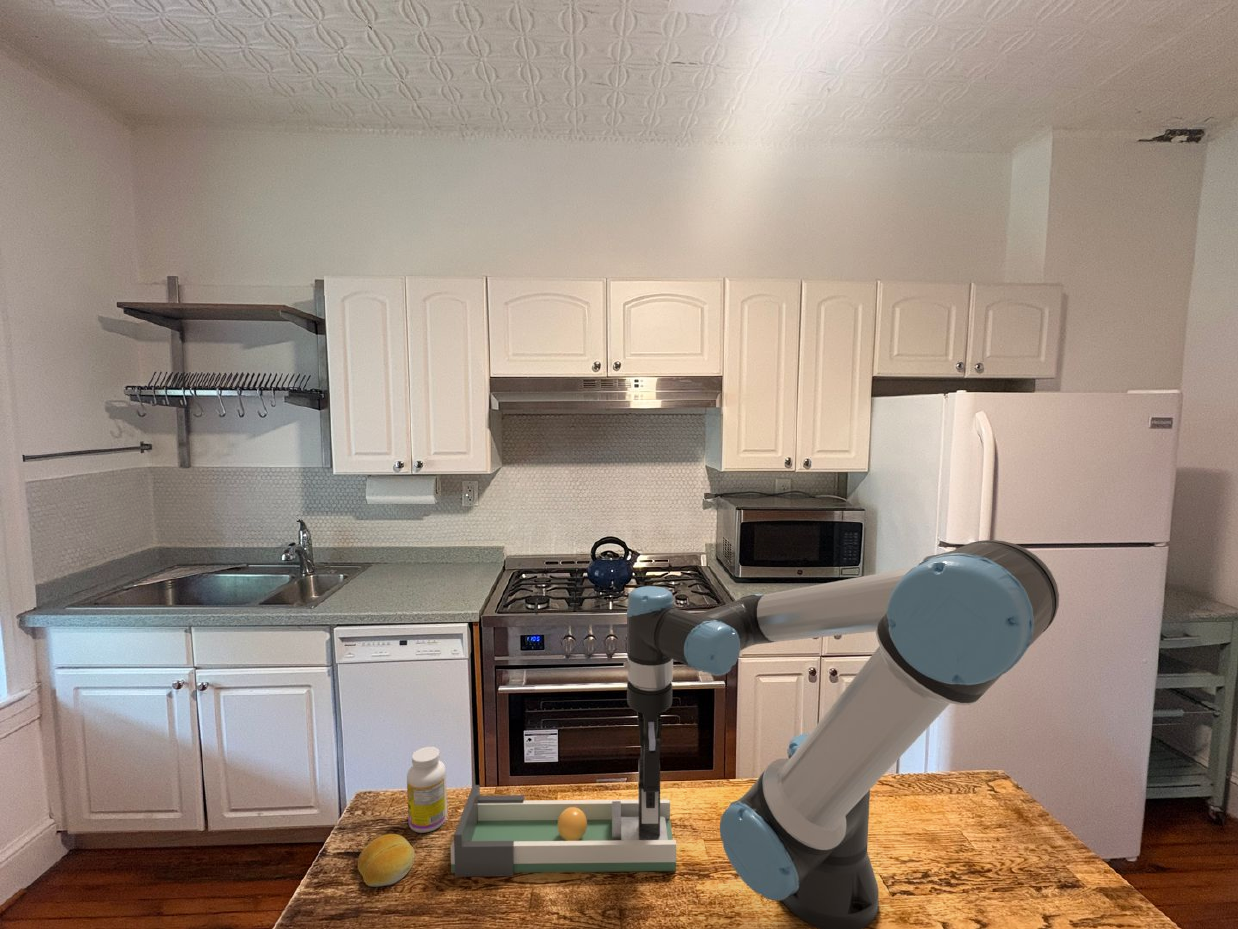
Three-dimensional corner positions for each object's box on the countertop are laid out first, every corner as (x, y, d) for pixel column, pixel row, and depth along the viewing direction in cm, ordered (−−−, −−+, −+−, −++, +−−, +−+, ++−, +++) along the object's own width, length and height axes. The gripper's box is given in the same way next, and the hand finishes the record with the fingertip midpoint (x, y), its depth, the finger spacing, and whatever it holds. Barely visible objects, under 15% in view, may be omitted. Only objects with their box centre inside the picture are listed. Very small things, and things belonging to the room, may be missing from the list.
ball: (592, 832, 100) (591, 805, 99) (579, 852, 95) (578, 824, 95) (566, 824, 102) (565, 797, 101) (552, 844, 97) (551, 816, 96)
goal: (524, 821, 104) (524, 784, 104) (513, 876, 92) (512, 834, 92) (473, 822, 104) (472, 785, 104) (455, 876, 92) (454, 835, 91)
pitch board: (669, 823, 104) (669, 799, 104) (676, 871, 93) (676, 844, 93) (468, 825, 104) (467, 801, 103) (451, 873, 93) (450, 846, 92)
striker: (664, 820, 102) (664, 749, 101) (668, 854, 94) (669, 778, 93) (612, 820, 102) (612, 750, 101) (612, 854, 94) (612, 778, 93)
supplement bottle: (415, 809, 108) (413, 743, 107) (451, 808, 108) (449, 742, 107) (403, 835, 101) (400, 765, 100) (441, 834, 101) (439, 764, 100)
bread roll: (370, 899, 88) (369, 874, 88) (352, 864, 95) (351, 841, 94) (424, 871, 93) (423, 847, 93) (403, 840, 100) (402, 818, 100)
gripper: (625, 661, 104) (625, 786, 106) (628, 704, 88) (628, 850, 90) (667, 661, 104) (666, 786, 106) (677, 704, 88) (676, 849, 90)
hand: (649, 815), depth 98 cm, fingers closed on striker, 2 cm apart
